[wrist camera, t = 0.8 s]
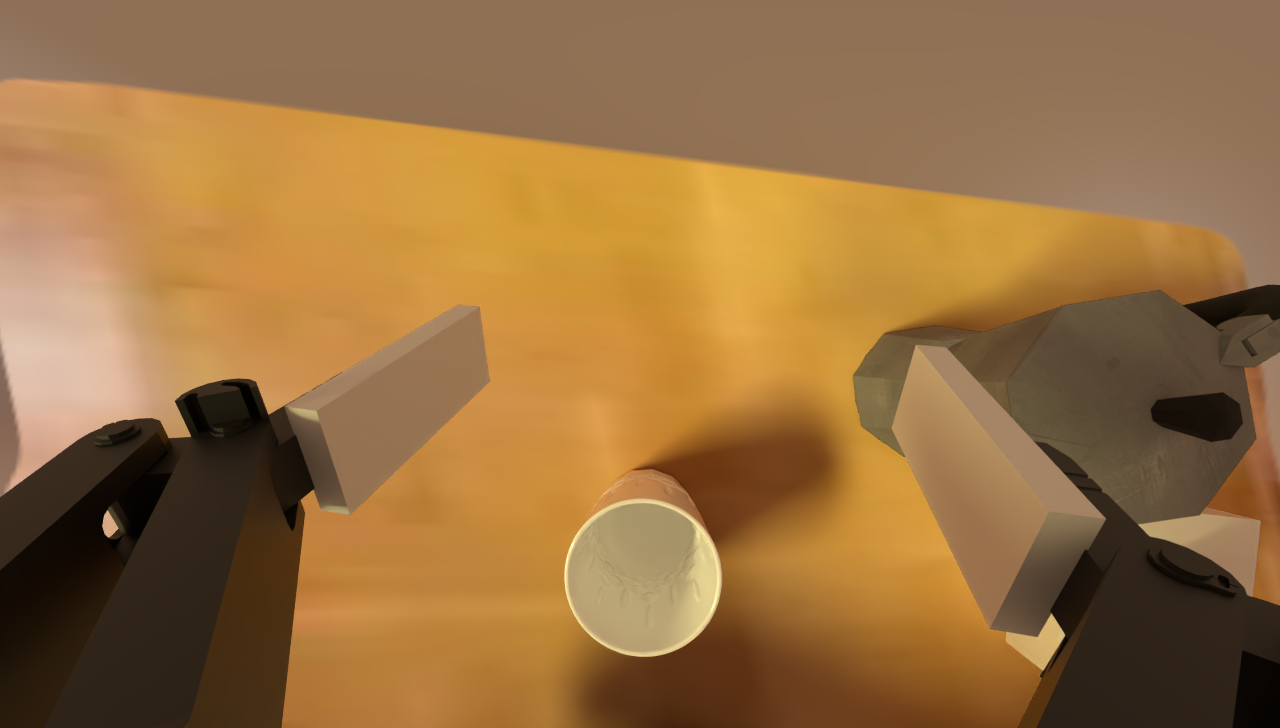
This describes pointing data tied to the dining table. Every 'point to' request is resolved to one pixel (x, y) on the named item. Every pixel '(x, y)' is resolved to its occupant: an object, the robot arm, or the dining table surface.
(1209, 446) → the coffeepot
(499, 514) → the dining table surface
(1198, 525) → the socket block
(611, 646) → the white cup
